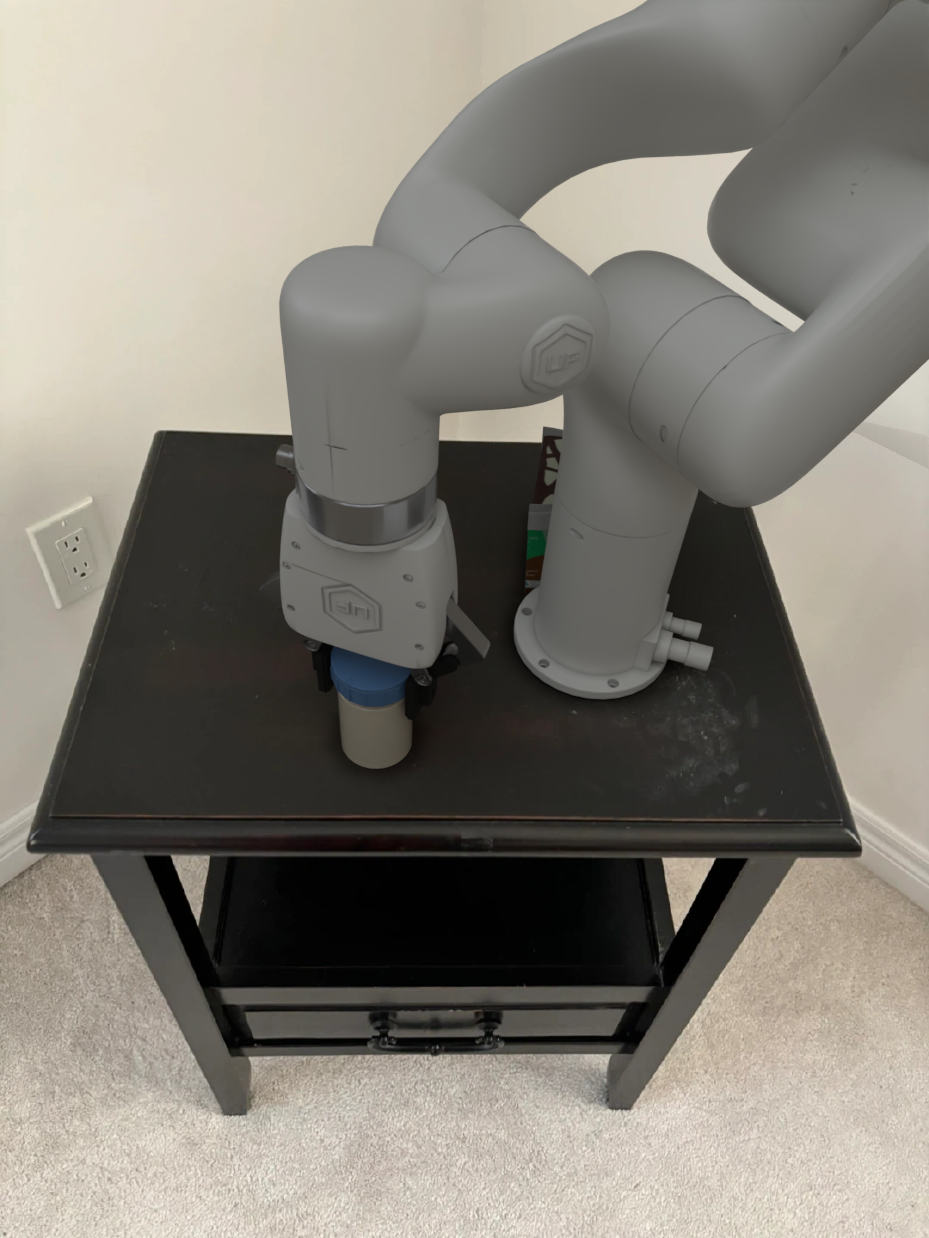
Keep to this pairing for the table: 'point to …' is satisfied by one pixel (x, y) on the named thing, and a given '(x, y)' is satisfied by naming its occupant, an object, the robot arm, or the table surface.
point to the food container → (542, 506)
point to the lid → (367, 678)
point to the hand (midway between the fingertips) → (375, 688)
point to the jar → (374, 733)
